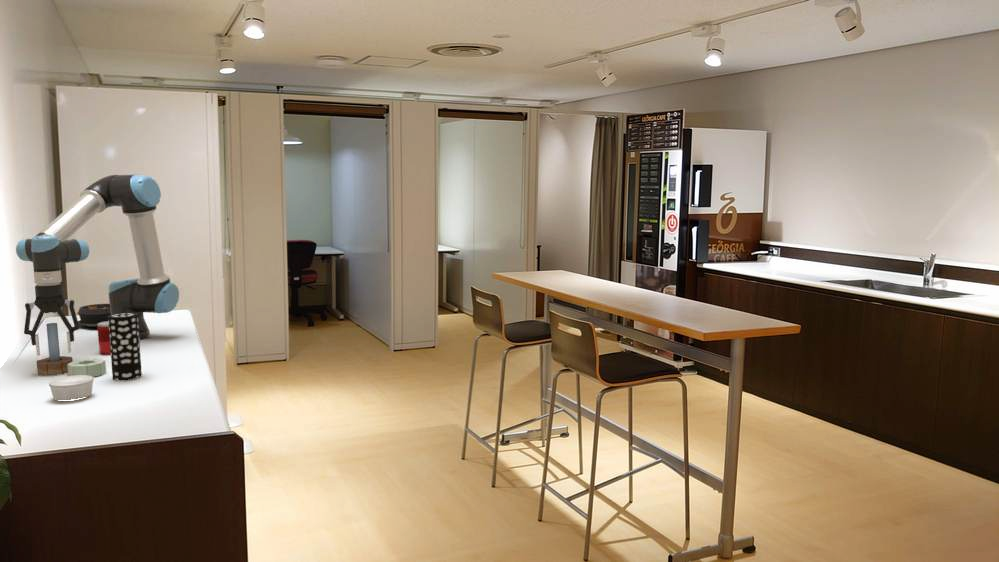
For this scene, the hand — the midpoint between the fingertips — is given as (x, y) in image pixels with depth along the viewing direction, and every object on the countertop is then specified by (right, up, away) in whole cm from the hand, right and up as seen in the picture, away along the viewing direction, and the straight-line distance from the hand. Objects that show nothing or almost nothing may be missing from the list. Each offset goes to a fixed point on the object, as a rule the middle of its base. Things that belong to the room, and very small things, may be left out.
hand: (54, 353), depth 243 cm
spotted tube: (+27, -7, -6) cm, 28 cm away
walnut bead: (0, -6, +1) cm, 6 cm away
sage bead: (+12, -7, -3) cm, 14 cm away
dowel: (0, -6, +1) cm, 6 cm away
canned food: (+4, -3, +28) cm, 29 cm away
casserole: (-27, +4, +80) cm, 85 cm away
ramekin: (+22, -10, -28) cm, 37 cm away
